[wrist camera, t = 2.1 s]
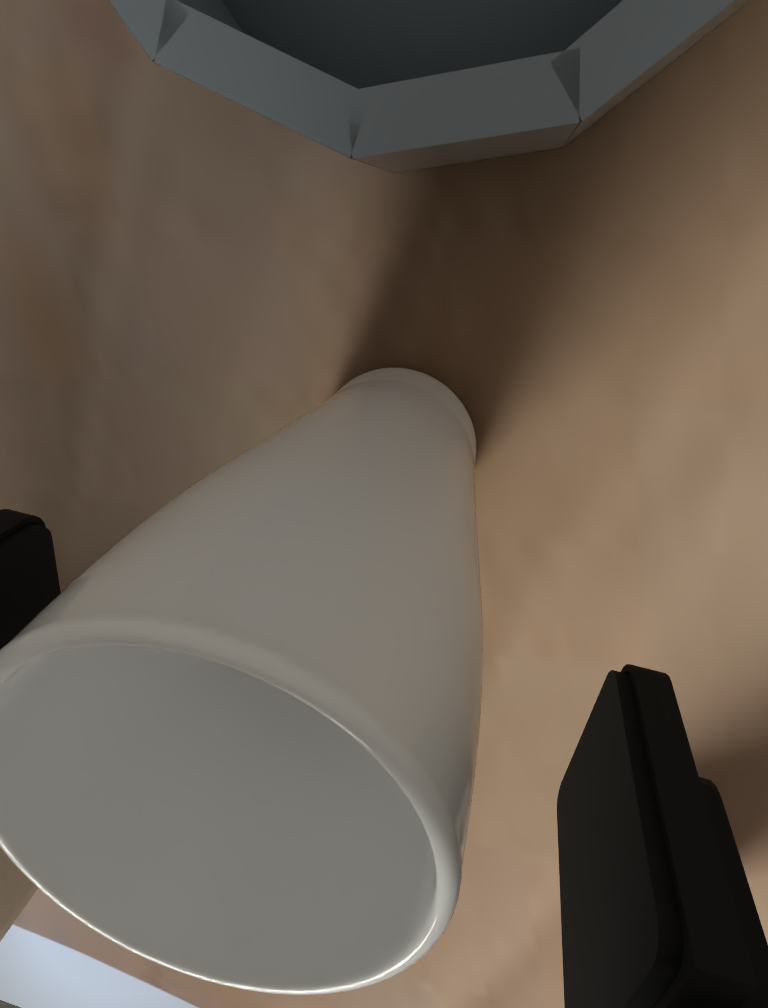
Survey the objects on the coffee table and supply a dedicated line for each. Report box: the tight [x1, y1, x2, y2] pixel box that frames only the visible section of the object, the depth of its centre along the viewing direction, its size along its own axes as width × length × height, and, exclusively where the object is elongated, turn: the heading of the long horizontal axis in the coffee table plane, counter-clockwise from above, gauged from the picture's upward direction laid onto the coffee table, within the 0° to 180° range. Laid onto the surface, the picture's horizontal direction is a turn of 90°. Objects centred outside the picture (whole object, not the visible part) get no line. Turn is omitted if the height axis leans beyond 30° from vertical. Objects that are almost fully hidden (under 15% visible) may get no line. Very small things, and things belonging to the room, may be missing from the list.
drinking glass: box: [0, 367, 483, 995], centre depth 14 cm, size 7×7×15 cm
